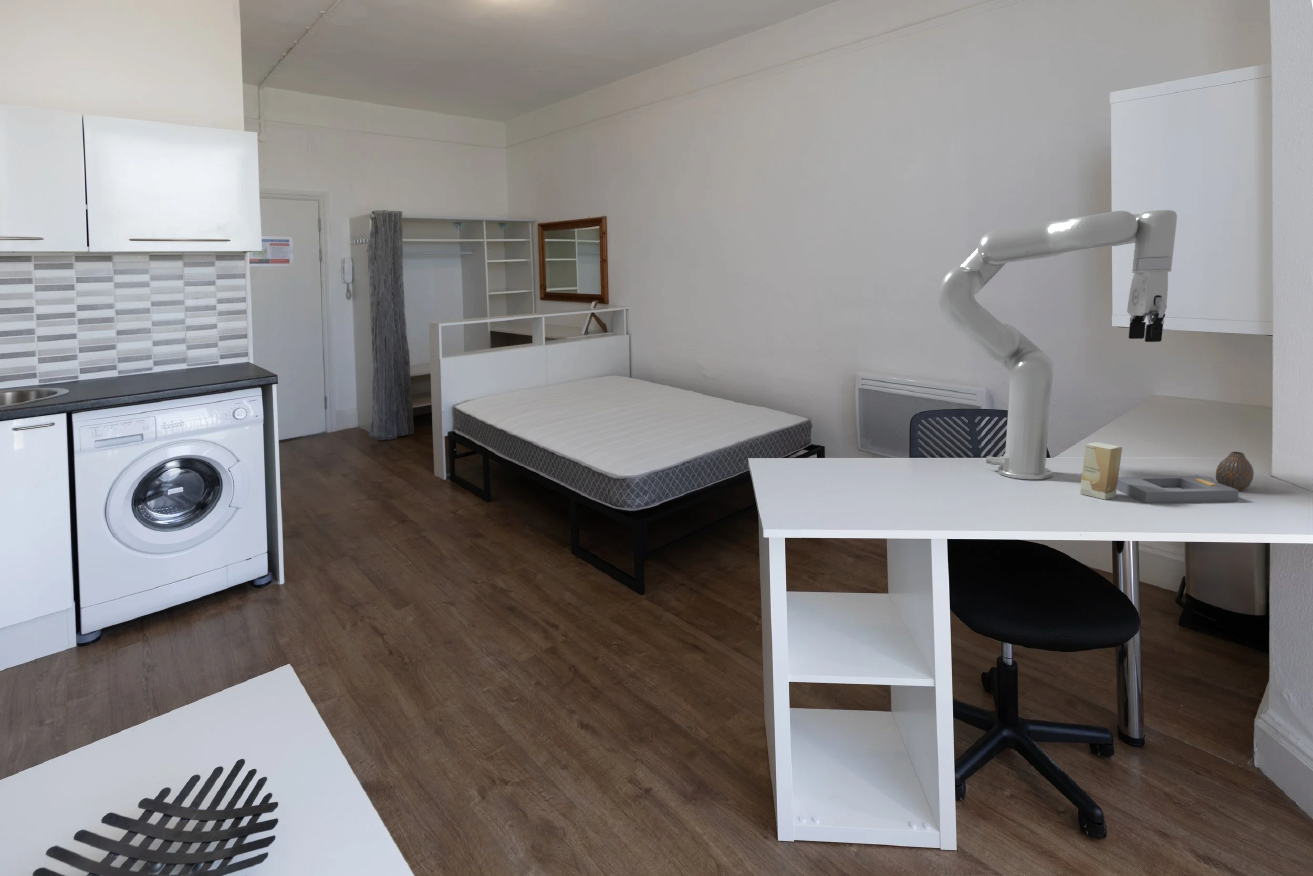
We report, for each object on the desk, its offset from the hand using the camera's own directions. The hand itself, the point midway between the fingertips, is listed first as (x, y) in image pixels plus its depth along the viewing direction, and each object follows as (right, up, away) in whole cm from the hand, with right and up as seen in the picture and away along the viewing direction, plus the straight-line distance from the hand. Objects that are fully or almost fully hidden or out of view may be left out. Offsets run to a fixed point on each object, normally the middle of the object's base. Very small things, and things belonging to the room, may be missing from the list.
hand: (1144, 340), depth 169 cm
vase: (+21, -35, 0) cm, 41 cm away
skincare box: (-12, -37, -2) cm, 39 cm away
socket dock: (+5, -36, -3) cm, 37 cm away
